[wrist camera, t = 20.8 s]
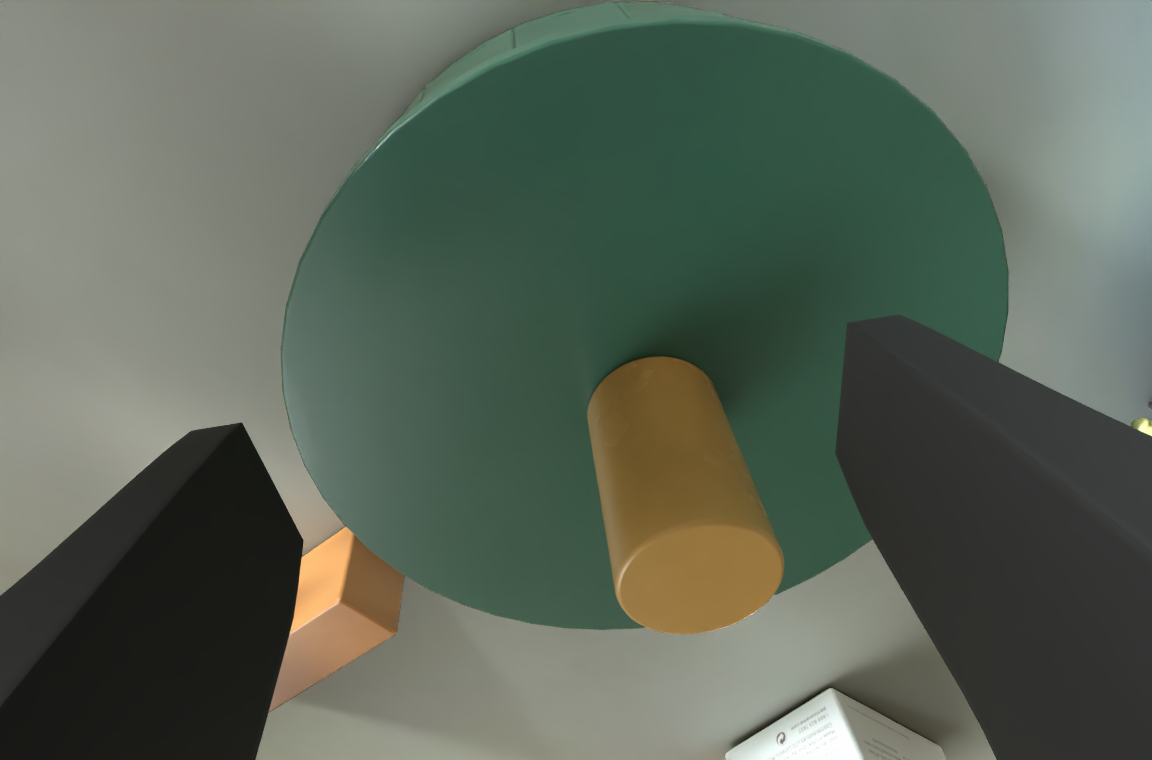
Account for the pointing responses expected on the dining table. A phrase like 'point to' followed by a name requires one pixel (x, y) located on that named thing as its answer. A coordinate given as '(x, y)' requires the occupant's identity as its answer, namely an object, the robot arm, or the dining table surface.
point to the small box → (835, 735)
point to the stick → (337, 612)
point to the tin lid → (626, 317)
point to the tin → (550, 26)
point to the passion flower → (1143, 424)
